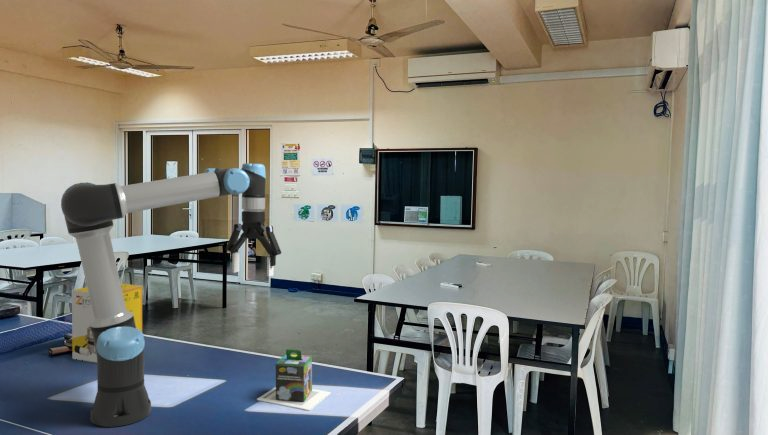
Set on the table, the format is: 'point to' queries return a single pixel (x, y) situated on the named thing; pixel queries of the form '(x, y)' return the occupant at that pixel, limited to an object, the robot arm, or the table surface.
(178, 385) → the table surface
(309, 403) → the white tray
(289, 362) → the chalk box
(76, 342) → the packaging box
